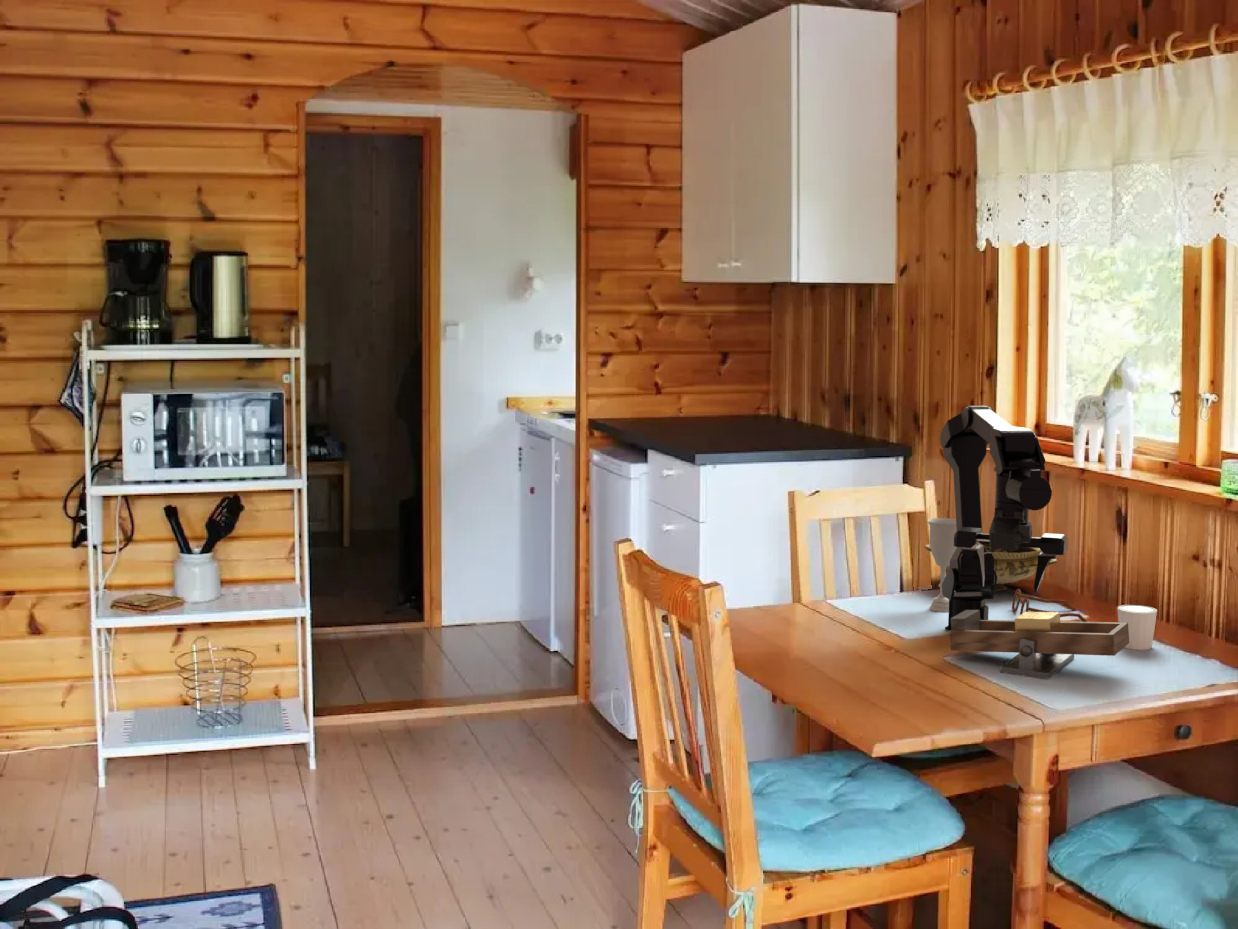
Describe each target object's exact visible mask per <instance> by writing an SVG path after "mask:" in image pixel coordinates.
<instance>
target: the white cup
mask: <svg viewBox="0 0 1238 929" xmlns="http://www.w3.org/2000/svg"><path fill="white" fill-rule="evenodd" d="M1157 615H1158V609H1157V608H1154V607H1151V606H1147V605H1140V604H1122V605H1118V606H1117V618H1118V619H1117V620H1118V621H1117V622H1118V623H1128V630H1129V644H1128V645H1126V646H1125V647H1124V648H1123V649H1127V650H1128V649H1130V650H1137V651H1142V650H1143V651H1147V650H1151V649H1152V647H1153V642H1154V634H1155V626H1156V621H1157Z"/></svg>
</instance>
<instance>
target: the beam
mask: <svg viewBox="0 0 1238 929" xmlns="http://www.w3.org/2000/svg"><path fill="white" fill-rule="evenodd" d="M1060 625H1061V632H1028V631H1016V630H1015V619H1014V620H1009V619H1008V620H1005V619H1003V620H1002V619H998V620H997V619H988V620H980V610H965V611H963V612H961V613H959V614H958V615H956V616H954V617H952V618H951V630H950V631H949V630H948V631H949V642H950V651H952V652H953V651H954V652H955V651H956V652H981V653H982V652H983V653H987V652H988V653H1014V654H1016V653H1017V654H1019V648H1020V639H1022V638H1026V639H1033V640H1036V653H1044V654H1074V655H1076V656H1077V655H1081V656H1083V655H1084V656H1107V657H1109V656H1112V657H1113V656H1114V657H1115V656H1116V655H1117V654H1119V653H1120V651H1122V650H1123V649H1125V648H1124V647H1125V646H1126V645H1128V644H1129V630H1128V623H1118V621H1117V622H1109V621H1108V622H1106V621H1104V622H1103V621H1100V622H1099V621H1088V622H1083V621H1065V620H1064V621H1063V620H1062V621H1061V620H1060Z"/></svg>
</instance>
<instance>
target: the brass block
mask: <svg viewBox="0 0 1238 929" xmlns="http://www.w3.org/2000/svg"><path fill="white" fill-rule="evenodd" d="M1060 614H1061V613H1060V612H1059V611H1056V612H1055V611H1054V612H1053V611H1048V612H1033V611H1028V612H1025V611H1023V614H1021V615H1020V614H1019V615H1018V616H1016V617H1015V618H1014V621H1015V630H1016V631H1028V632H1061V625H1060V621H1061V617H1060Z"/></svg>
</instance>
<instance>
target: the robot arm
mask: <svg viewBox="0 0 1238 929" xmlns="http://www.w3.org/2000/svg"><path fill="white" fill-rule="evenodd" d="M939 442H940V446H941V448H942V452H943V458H944V460H945V461H946V462H947V464H948V466H949V467H950V469H951V470H952V472H953V473H952V474H953V486H954V487H953V489H954V490H953V492H954V504H955V505H954V508H955V509H954V510H955V519H956V527H957V532H956V533H955V535H954V546H955V547H957V548H956V550H955V552H954V554H953V556H952V557H951V559H950V569H949V571H948V572H946V577H945V579H944V581H943V583H942V594H943V596H944V597H946V598H947V599H949V612H948V617H947V618H948V621H947V622H948V623H947V625H946V626H944V630H945V631H950V630H951V618H952V617H954V616H956V615H958V614H959V613H961V612H963V611H965V610H980V620H989V608H990V607H989V606H988V605H987V600H994V597H995V593H996V591H995V588H996V583H997V575H996V571H995V569H994V557H993V555H992V553H988V551H987V550H986V548H985V547H984V545H983V544H990V548H992V549H1008V550H1010V551H1014V550H1017V549H1018V548H1019V547H1031V548H1040V550H1041V551H1042V552H1041V553H1039V555H1038V563H1037V570H1036V572H1035V577H1034V584H1033V591H1034V593H1037V592H1038V590H1039V588H1040V585H1041V583H1042V580H1043V577H1044V575H1045V571H1046V570H1047V568H1048V567H1049V566H1048V564H1049V562H1050V560H1051V559H1056V560H1057V558H1058V557H1059V556H1064V555H1065V554H1066V552H1067V551H1068V547H1069V539H1068V536H1067V535H1066V534H1063V533H1053V532H1052V533H1051V532H1045V533H1044V532H1043V534H1042V535H1041V537H1037V536H1036V537H1035V536H1033V526H1032V522H1030V521H1029V516H1030V515H1029V514H1030V511H1039V510H1042V509H1044V508H1045V507H1046V506H1048V504H1049V503H1050V502H1051V499H1052V495H1053V490H1052V488H1051V487H1052V486H1051V485H1050V483H1049V482H1048V481H1047V480H1046V479H1045V478H1043V477H1042V472H1045V469H1046V466H1045V464H1046V459H1045V455H1044V453H1043V449H1042V447H1041V446H1042V445H1041V444H1040V441H1039V438H1038V437H1037V435H1036V434H1035V432H1034V430H1032V429H1031V428H1027V427H1020V426H1014V425H1011V424H1010V423H1008V422H1007V421H1006V420H1005V419H1003V418H1002V417H1001V416H999V415H998V414H997V413H996V412H994V410H993V407H990V406H988V405H968V406H967V407H963V409H962V410H961V412H960V413H958V414H956V415H955V416H953V417H952V418H950V419H948V420H947V421H946V422H945V424H944V426H943V427H942V429H941V431H940V435H939ZM988 445H989V454H990V455H991V457H992V459H993V463H994V465H995V467H994V469H993V472H995V497H994V498H995V499H994V513H993V519H992V520H991V525H990V528H989V529H988V533H985V532H983V521H982V520H983V519H982V505H981V503H982V501H981V487H980V473H979V472H980V469H979V468H980V466H981V465H982V463H983V461H984V459H985V457H986V456H987V447H988Z"/></svg>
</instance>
